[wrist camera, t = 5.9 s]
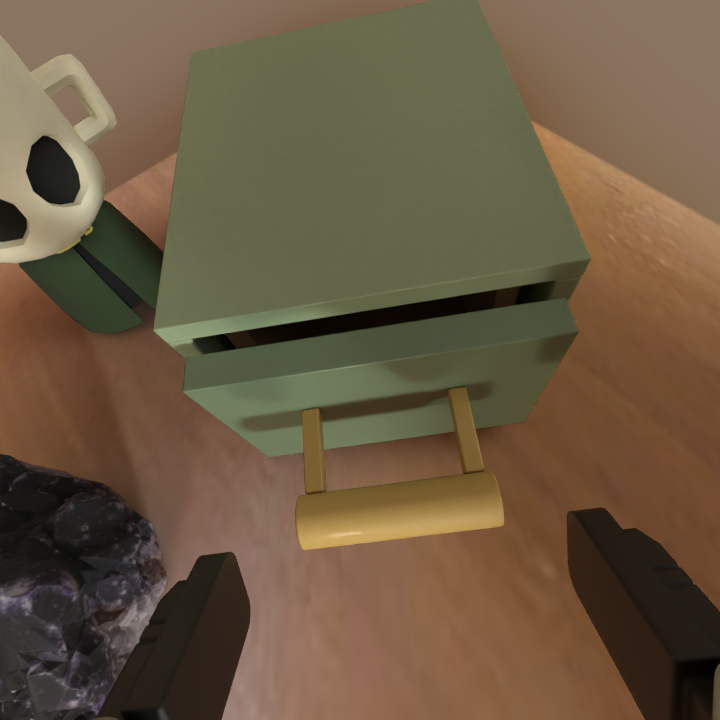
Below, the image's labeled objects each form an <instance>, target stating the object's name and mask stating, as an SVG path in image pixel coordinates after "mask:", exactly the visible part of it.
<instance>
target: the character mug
mask: <svg viewBox="0 0 720 720" xmlns="http://www.w3.org/2000/svg"><path fill="white" fill-rule="evenodd" d="M65 86H69V87H71V89H72V90H73V91H74V93H75V94H76V95H77V97H78V98H79V100H80V101H81V102H82V104H83V105H84V107H85V108H86V109H87V111H88V112H89V116H88V117H86V118H84V119H83V120H82V121H80V122H78V123H77V124H75V125H74V126H72V125H71V124H70V122H69V121H68V120H67V119H66V117H65V116H64V115H63V114H62V112H61V111H60V110H59V109H58V107H57V106H56V105H55V103H54V102H53V101H52V100H51V98H50V97H49V96H51V95H52V94H54V93H55V92H57V91H59V90H60V89H62V88H63V87H65ZM116 123H117V120H116V117H115V115H114V111H113V109H112V108H111V106H110V105H109V104H108V102H107V101H106V99H105V98H104V96H103V95H102V93H101V92H100V90H99V89H98V87H97V86H96V84H95V83H94V81H93V80H92V78H91V77H90V75H89V74H88V72H87V71H86V69H85V68H84V66H83V65H82V64H81V63H80V62H79V61H78V60H77V59H76V58H75V57H74V56H73V55H71V54H66V55H59V56H57V57H55V58H54V59H52V60H50V61H49V62H47V63H45V64H44V65H42V66H40V67H39V68H37V69H35V70H34V71H32V72H30V71H29V70H28V69H27V67H26V66H25V65H24V63H23V62H22V61H21V60H20V58H19V57H18V56H17V54H16V53H15V52H14V51H13V49H12V48H11V47H10V46H9V45H8V43H7V42H6V40H5V39H4V38H3V37H2V36H1V35H0V263H19V265H20V267H21V268H22V269H23V270H24V271H25V272H26V273H27V275H28V276H29V277H30V278H31V279H32V280H33V281H34V282H35V283H36V284H37V285H38V286H39V287H40V288H41V289H42V290H43V291H44V292H45V293H46V294H47V295H48V296H49V297H50V298H51V299H52V300H53V301H54V302H55V303H56V304H57V305H58V306H59V307H60V308H61V309H62V310H64V311H65V312H66V313H67V314H68V315H69V316H70V317H71V318H72V319H73V320H74V321H76V322H77V323H79V324H81V325H82V326H84V327H85V328H87V329H88V330H90V331H92V332H93V333H119V332H121V331H124V330H127V329H130V328H133V327H135V326H138V325H139V324H140V323H142V322H143V320H142V319H141V318H140V317H139V316H138V315H137V314H136V313H135V312H134V311H133V310H132V309H131V308H133V307H135V306H137V305H139V303H140V302H141V301H142V300H144V301H145V302H147V303H148V304H149V305H150V306H151V307H152V308H153V309H154V310H155V311H156V305H157V298H158V290H159V283H160V276H161V269H162V262H163V254H164V253H163V251H162V250H160V249H159V248H158V247H157V246H156V245H155V244H154V243H153V242H152V241H151V240H150V239H149V238H148V237H147V236H146V235H145V234H144V233H143V232H142V231H141V230H140V229H139V228H138V227H136V226H135V225H134V224H133V223H132V222H131V221H130V220H128V219H127V218H126V217H125V216H124V215H123V214H122V213H121V212H120V211H118V210H117V209H116V208H115V207H114V206H113V205H112V204H111V203H109V202H107V201H105V200H103V199H104V192H105V184H106V181H105V178H104V174H103V171H102V168H101V166H100V164H99V162H98V160H97V158H96V157H95V155H94V153H93V151H92V150H91V149H90V148H89V146H90V145H92V144H93V143H95V142H96V141H98V140H99V139H100V138H102V137H103V136H105V135H106V134H108V133H109V132H111V131H112V130H113V128H114V127H115V125H116Z"/></svg>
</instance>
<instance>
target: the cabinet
mask: <svg viewBox="0 0 720 720" xmlns="http://www.w3.org/2000/svg"><path fill="white" fill-rule="evenodd" d="M590 260H591V257H590V255H589V252H588V250H587V248H586V245H585V243H584V241H583V239H582V236H581V234H580V232H579V230H578V227H577V225H576V223H575V220H574V218H573V216H572V214H571V211H570V209H569V207H568V204H567V202H566V200H565V198H564V195H563V193H562V191H561V189H560V186H559V184H558V182H557V179H556V177H555V175H554V173H553V170H552V168H551V166H550V163H549V161H548V159H547V157H546V154H545V152H544V150H543V147H542V145H541V143H540V141H539V138H538V136H537V134H536V132H535V129H534V127H533V125H532V122H531V120H530V118H529V116H528V113H527V111H526V109H525V107H524V104H523V102H522V100H521V97H520V95H519V93H518V91H517V88H516V86H515V84H514V82H513V79H512V77H511V75H510V72H509V70H508V68H507V65H506V63H505V61H504V59H503V57H502V54H501V52H500V49H499V47H498V45H497V43H496V40H495V38H494V36H493V34H492V31H491V29H490V27H489V25H488V22H487V20H486V18H485V15H484V13H483V11H482V8H481V6H480V4H479V2H478V0H435V1H430V2H425V3H421V4H416V5H411V6H407V7H402V8H397V9H393V10H389V11H384V12H379V13H374V14H370V15H365V16H361V17H355V18H351V19H347V20H342V21H337V22H332V23H328V24H324V25H319V26H314V27H309V28H304V29H300V30H295V31H290V32H286V33H281V34H276V35H272V36H267V37H262V38H258V39H253V40H248V41H244V42H239V43H234V44H230V45H225V46H221V47H216V48H212V49H207V50H202V51H197V52H193V53H191V60H190V68H189V75H188V82H187V89H186V96H185V103H184V111H183V118H182V125H181V132H180V139H179V147H178V154H177V161H176V168H175V175H174V183H173V190H172V197H171V204H170V211H169V218H168V226H167V233H166V240H165V247H164V254H163V262H162V269H161V276H160V283H159V290H158V298H157V305H156V312H155V319H154V326H153V331H154V332H155V333H156V334H157V335H158V336H160V337H161V338H162V339H163V340H164V341H165V342H167V343H168V344H169V345H170V346H171V347H172V348H173V349H174V350H175V351H177V352H178V353H179V354H180V355H181V356H182V357H183V358H184V359H185V360H186V357H191V356H197V355H203V354H210V353H216V352H222V351H228V350H235V349H237V348H236V347H235V346H234V345H233V344H232V342H231V341H230V340H229V339H228V338H227V336H226V335H225V333H231V332H237V331H244V330H250V329H256V328H262V327H268V326H275V325H281V324H287V323H293V322H299V321H306V320H312V319H318V318H324V317H330V316H337V315H343V314H349V313H355V312H361V311H368V310H374V309H380V308H386V307H392V306H399V305H405V304H411V303H417V302H423V301H430V300H436V299H442V298H448V297H455V296H461V295H467V294H473V293H479V292H486V291H492V290H498V289H504V288H510V287H517V286H521V287H520V290H519V293H518V296H517V300H516V303H515V305H520V304H526V303H532V302H539V301H545V300H551V299H558V298H566V300H567V302H569V300H570V298H571V296H572V294H573V292H574V290H575V288H576V286H577V285H578V283H579V281H580V279H581V276H582V275H583V274H584V272H585V270H586V268H587V266H588V264H589V262H590Z"/></svg>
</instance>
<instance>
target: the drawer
mask: <svg viewBox="0 0 720 720" xmlns="http://www.w3.org/2000/svg"><path fill="white" fill-rule="evenodd" d="M520 287H521V286H517V287H510V288H504V289H498V290H492V291H486V292H479V293H473V294H467V295H461V296H455V297H448V298H442V299H436V300H430V301H423V302H417V303H411V304H405V305H399V306H392V307H386V308H380V309H374V310H368V311H361V312H355V313H349V314H343V315H337V316H330V317H324V318H318V319H312V320H306V321H299V322H293V323H287V324H281V325H275V326H268V327H262V328H256V329H250V330H244V331H237V332H231V333H225V335H226V336H227V338H228V339H229V340H230V341H231V342H232V344H233V345H234V346H235V347H236V348H237V349H235V350H228V351H222V352H216V353H210V354H203V355H197V356H191V357H186V361H185V372H184V382H183V393H184V394H186V395H187V396H188V397H190V398H191V399H192V400H194V401H195V402H196V403H198V404H199V405H200V406H202V407H203V408H204V409H205V410H207V411H208V412H209V413H211V414H212V415H213V416H215V417H216V418H217V419H219V420H220V421H221V422H223V423H224V424H225V425H227V426H228V427H229V428H230V429H232V430H233V431H234V432H236V433H237V434H238V435H240V436H241V437H242V438H244V439H245V440H246V441H248V442H249V443H250V444H251V445H253V446H254V447H255V448H257V449H258V450H259V451H261V452H262V453H263V454H265V455H266V456H267V457H274V456H281V455H289V454H296V453H303V455H304V480H305V493H306V494H307V495H301V496H299V497H298V500H297V504H296V511H295V522H296V532H297V537H298V541H299V544H300V546H301V548H302V549H304V550H309V549H317V548H325V547H334V546H342V545H350V544H359V543H367V542H376V541H384V540H392V539H401V538H409V537H418V536H426V535H434V534H443V533H451V532H459V531H468V530H476V529H485V528H493V527H501V526H503V524H504V510H503V503H502V498H501V493H500V490H499V486H498V483H497V480H496V478H495V476H494V474H493V473H492V472H491V471H485V472H483V471H484V464H483V460H482V455H481V451H480V447H479V442H478V438H477V433H476V429H478V428H486V427H493V426H500V425H507V424H515V423H522V422H524V421H525V419H526V418H527V416H528V414H529V413H530V411H531V409H532V408H533V406H534V405H535V403H536V401H537V400H538V398H539V396H540V395H541V393H542V392H543V390H544V388H545V387H546V385H547V383H548V382H549V380H550V378H551V377H552V375H553V374H554V372H555V370H556V369H557V367H558V365H559V364H560V362H561V361H562V359H563V357H564V356H565V354H566V352H567V351H568V349H569V347H570V346H571V344H572V343H573V341H574V339H575V338H576V336H577V334H578V333H579V331H578V328H577V326H576V323H575V320H574V318H573V315H572V313H571V310H570V307H569V305H568V302H567V300H566V298H558V299H551V300H545V301H539V302H532V303H526V304H520V305H515V303H516V300H517V296H518V293H519V290H520ZM449 432H455V435H456V439H457V444H458V449H459V454H460V459H461V464H462V468H463V473H464V474H462V475H454V476H446V477H438V478H431V479H423V480H415V481H408V482H400V483H392V484H384V485H377V486H369V487H361V488H353V489H346V490H338V491H330V492H327V489H326V473H325V457H324V450H325V449H332V448H340V447H347V446H354V445H362V444H369V443H376V442H383V441H391V440H398V439H405V438H413V437H420V436H427V435H434V434H442V433H449Z"/></svg>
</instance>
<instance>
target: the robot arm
mask: <svg viewBox="0 0 720 720" xmlns="http://www.w3.org/2000/svg"><path fill="white" fill-rule="evenodd" d="M567 544H568V567H569V573H570V577H571V580H572V583H573V586H574V589H575V591H576V593H577V595H578V597H579V599H580V601H581V603H582V604H583V606H584V608H585V610H586V612H587V614H588V615H589V617H590V619H591V621H592V623H593V625H594V626H595V628H596V630H597V632H598V634H599V636H600V637H601V639H602V641H603V643H604V645H605V647H606V648H607V650H608V652H609V654H610V656H611V658H612V659H613V661H614V663H615V665H616V667H617V669H618V670H619V672H620V674H621V676H622V678H623V680H624V681H625V683H626V685H627V687H628V689H629V691H630V693H631V694H632V696H633V698H634V700H635V702H636V704H637V705H638V707H639V709H640V711H641V713H642V715H643V716H644V718H645V720H720V611H719V610H718V609H717V608H716V607H715V606H714V605H713V603H712V602H711V601H710V600H709V599H708V598H707V597H706V595H705V594H704V593H703V592H702V591H701V590H700V589H699V588H698V586H697V585H694V584H693V582H692V580H691V579H690V577H689V576H688V575H687V574H686V573H685V572H684V571H683V569H682V568H679V567H678V565H677V563H676V562H675V560H674V559H673V558H672V557H671V556H670V555H669V554H668V552H667V551H666V550H665V549H664V548H663V547H662V546H661V545H660V544H659V543H658V542H656V541H655V540H653V539H652V538H650V537H648V536H647V535H645V534H644V533H642V532H641V531H639V530H637V529H636V528H632V529H622V528H621V527H620V526H619V525H618V523H617V522H616V521H615V520H614V518H613V517H612V516H611V515H610V513H609V512H608V511H607V510H606V509H605V508H602V507H601V508H593V509H584V510H576V511H569V512H568V514H567ZM249 624H250V602H249V597H248V594H247V591H246V588H245V585H244V582H243V578H242V575H241V572H240V569H239V566H238V563H237V559H236V557H235V555H234V554H233V553H232V552H225V553H217V554H209V555H202V556H200V557H199V558H198V559H197V561H196V563H195V565H194V566H193V568H192V570H191V572H190V574H189V576H188V578H187V580H183V581H178V582H177V583H176V584H175V585H174V586H173V587H172V588H171V589H170V591H169V592H168V593H167V594H166V595H165V596H164V597H163V598H162V599H161V600H160V602H159V603H158V605H157V607H156V609H155V611H154V613H153V614H152V616H151V618H150V620H149V625H146V627H145V629H144V631H143V632H142V634H141V636H140V638H139V643H138V644H136V645H135V647H134V649H133V651H132V652H131V654H130V656H129V658H128V660H127V661H126V663H125V665H124V667H123V669H122V671H121V672H120V674H119V676H118V678H117V680H116V681H115V683H114V685H113V687H112V689H111V690H110V692H109V694H108V696H107V698H106V699H105V701H104V703H103V705H102V707H101V709H100V710H99V712H98V714H97V716H96V717H95V719H93V720H221V719H222V716H223V712H224V709H225V706H226V702H227V699H228V696H229V692H230V689H231V686H232V682H233V679H234V676H235V672H236V669H237V666H238V662H239V659H240V656H241V652H242V649H243V645H244V642H245V639H246V635H247V632H248V629H249Z"/></svg>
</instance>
